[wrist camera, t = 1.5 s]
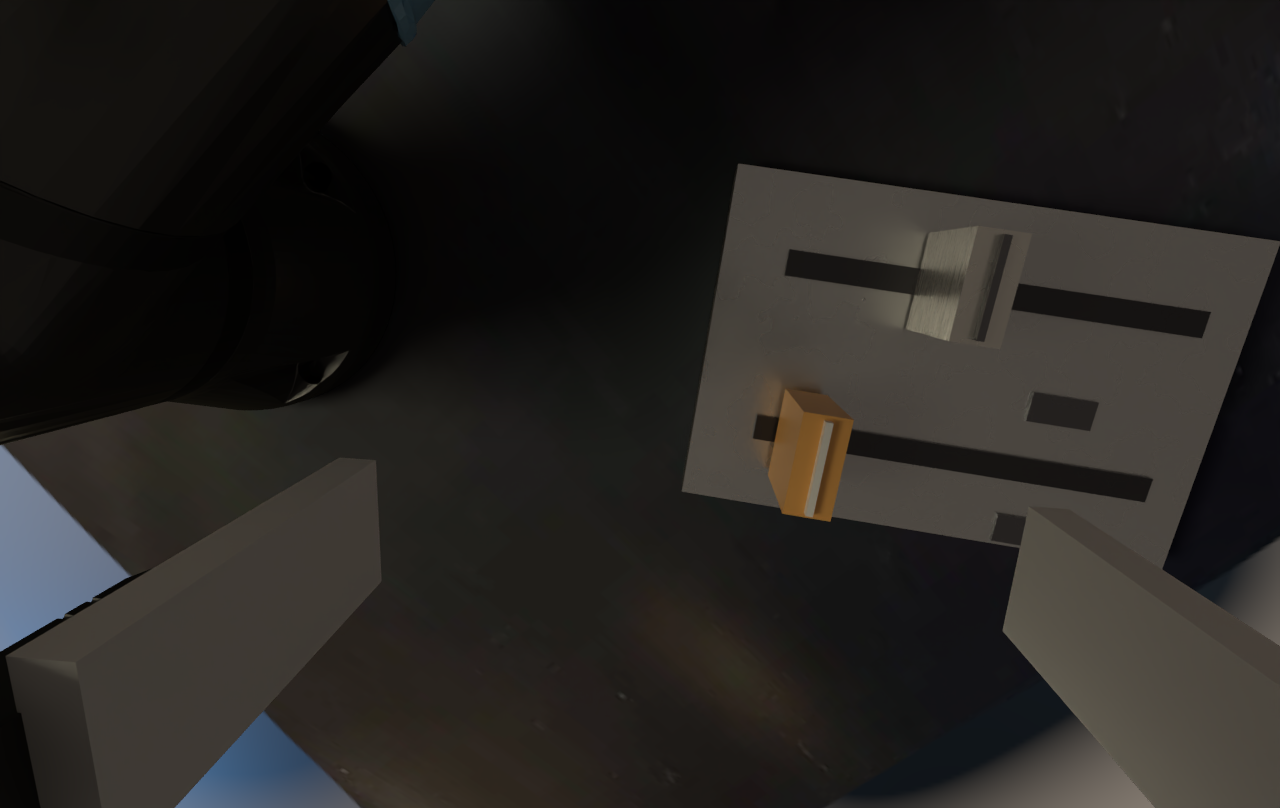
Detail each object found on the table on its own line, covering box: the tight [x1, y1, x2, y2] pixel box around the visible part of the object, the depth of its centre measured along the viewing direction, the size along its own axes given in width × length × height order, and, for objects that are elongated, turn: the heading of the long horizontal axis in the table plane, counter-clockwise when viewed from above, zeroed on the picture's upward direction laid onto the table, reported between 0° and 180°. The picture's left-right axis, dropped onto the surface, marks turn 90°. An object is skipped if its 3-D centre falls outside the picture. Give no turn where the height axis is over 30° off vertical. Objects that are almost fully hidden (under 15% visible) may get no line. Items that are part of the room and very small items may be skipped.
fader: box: [768, 388, 854, 521], centre depth 28 cm, size 2×4×5 cm, turn 172°
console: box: [682, 164, 1280, 569], centre depth 28 cm, size 24×16×8 cm, turn 82°
